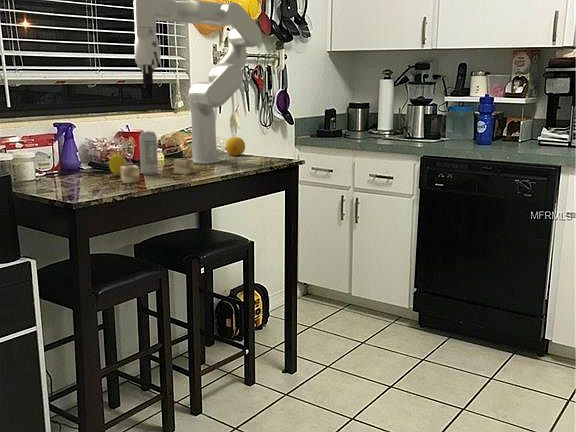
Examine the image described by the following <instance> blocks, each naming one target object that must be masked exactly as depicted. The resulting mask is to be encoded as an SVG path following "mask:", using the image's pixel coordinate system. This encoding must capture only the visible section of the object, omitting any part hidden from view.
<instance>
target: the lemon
mask: <svg viewBox="0 0 576 432" xmlns="http://www.w3.org/2000/svg"><path fill="white" fill-rule="evenodd" d="M108 166H109V170H110V171H111V172H112V173H113V174H114V175H116V176H119V175H121V169H120V166H126V161H125V158H124V157H123V155H122V154H119V153H118V152H115V154H112V155H111V156H110V157H109V161H108Z"/></svg>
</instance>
